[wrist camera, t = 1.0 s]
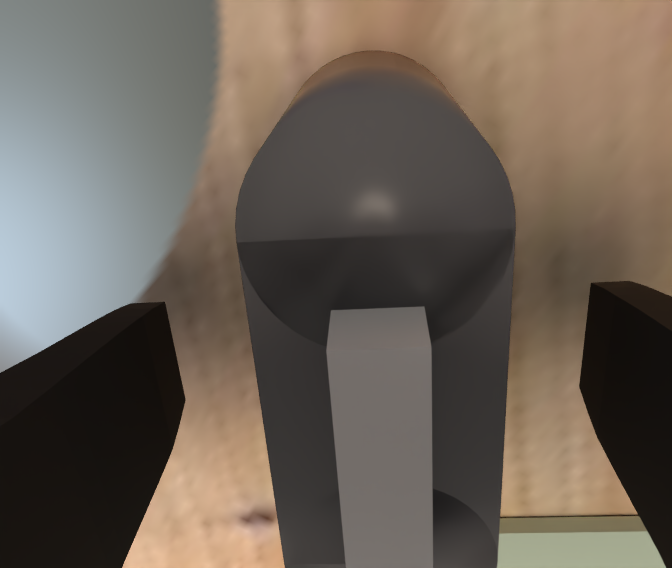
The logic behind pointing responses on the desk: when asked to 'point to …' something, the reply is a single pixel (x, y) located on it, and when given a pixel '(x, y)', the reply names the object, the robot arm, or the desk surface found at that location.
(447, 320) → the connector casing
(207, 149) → the desk surface
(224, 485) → the desk surface
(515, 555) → the desk mat
